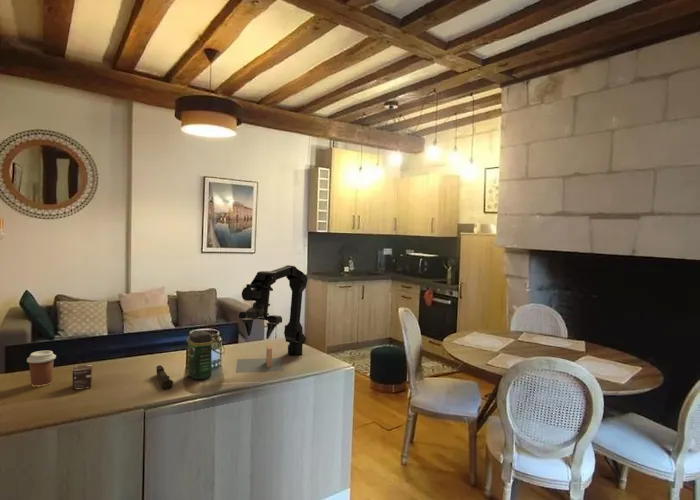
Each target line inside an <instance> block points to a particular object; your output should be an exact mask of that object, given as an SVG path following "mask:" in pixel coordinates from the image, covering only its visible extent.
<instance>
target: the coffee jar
mask: <svg viewBox="0 0 700 500" xmlns="http://www.w3.org/2000/svg"><path fill="white" fill-rule="evenodd" d="M212 347H213V335H212V334H211V333H209V332H207V331H204V330H203V329H200V330H193V331H191V333H190V334H189V362H188V363H189V364H188V365H189V367H188V373H189V374H188V375H189V376H190V377H191V378H192V379H194V380H205V379H208V378H210V377H212V369H213V367H212V354H213V353H212V352H213V351H212Z"/></svg>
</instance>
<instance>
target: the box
mask: <svg viewBox="0 0 700 500" xmlns="http://www.w3.org/2000/svg"><path fill="white" fill-rule="evenodd" d="M92 384H93V364H85V365H75V366H73V369H72V390H73V389H76V388H86V387H91V388H92Z"/></svg>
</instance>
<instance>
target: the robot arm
mask: <svg viewBox="0 0 700 500" xmlns="http://www.w3.org/2000/svg"><path fill="white" fill-rule="evenodd" d="M285 277H286V279H287V280H288V282H289V288H290V290H291V300H290V301H291V302H290V309H289V310H290V311H289V322H288V323H287V324H285V325H284V331H283V334H284V335H283V336H284V338H285V339H284V340H285V342H286V343H288V344H287V355H289V357H299V356H301V357H302V356H304V355H303V345H305V344H306V342H307V337H306V336H305V334H304V333H303V332H304V331H303V329H304V327H303V326H302V324H301V311H302V302H303V292H304V291H305V289H307V288H306V287H307V285H308V284H307V283H308V280H309V279H308V276H307V275H306V274H305V273H304V272H303V271H302V270H300V269H298V268H297V267H296V266H295V265H289V264H287V265H285V266H282V267H280V268H277V269H272V270H268V271H267V270H266V271H264V270H261V271H257V273H256V275H255V277H253V280H251V283H250V284H249V283H247V284H246V286H245V287H244V288H243V289H242V291H241V298H242V299H243V301H246V302H248V301H249V302H250V301H251V302H253V304H252V307H251V306H250V307H249V308H247V309H246V310H243V311H242V310H241V311H240V312H239V313H238V316H237V318H238V319H240V321H242V322H243V323H244V325H245V330H246V334H247V336H248V337H250V336H251V334H252V328H253V323H254V320H263V321H267V323H266V326H267V328H266V329H267V330H266V334H265V335H266V337H265V338H266V340H269V338H270V337H271V335H272V333H273V332H274V330H275V328H276V327H277V325H278V326H279V325H280V324H282V323H283V317H282V316H281V315H276V314H275V315H270V313H269V312H268V311H269V307H270V306H271V303H270V294H271V292H273V291H274V288H273V287H272V285H273V284H275V283H276V282H277V281H278V280H280V279H283V278H285Z"/></svg>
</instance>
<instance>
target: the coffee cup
mask: <svg viewBox="0 0 700 500" xmlns="http://www.w3.org/2000/svg"><path fill="white" fill-rule="evenodd" d="M55 359H57V354H54V351H52V350H39V351H38V350H37V351H33V352H31V353H30V355H29V356H28V357H27V358H26V363H28V365H29V376H30V383H31V384H33V385H43V384H48V383H50V382H52V383H53V374H54V373H53V372H54V365H55V364H54V361H55Z"/></svg>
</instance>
